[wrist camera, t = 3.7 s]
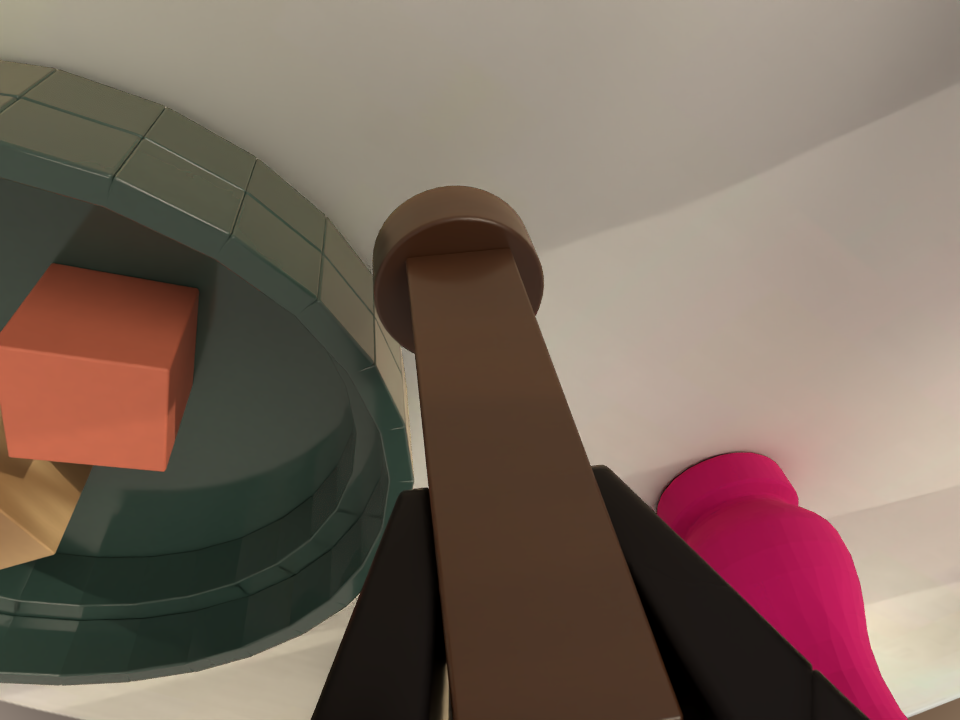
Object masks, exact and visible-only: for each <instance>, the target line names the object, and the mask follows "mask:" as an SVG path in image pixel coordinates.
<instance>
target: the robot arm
mask: <svg viewBox="0 0 960 720" xmlns="http://www.w3.org/2000/svg"><path fill="white" fill-rule="evenodd" d="M591 468H592V471H593V473H594V476H595V479H596V482H597V484H598V487H599V490H600V492H601V495H602V498H603V500H604V503H605V506H606V509H607V511H608V514H609V517H610V519H611V522H612V525H613V527H614V530H615V533H616V536H617V538H618V541H619V544H620V546H621V549H622V552H623V554H624V557H625V560H626V563H627V565H628V568H629V571H630V573H631V576H632V579H633V581H634V584H635V587H636V590H637V592H638V595H639V598H640V600H641V603H642V606H643V608H644V611H645V614H646V617H647V619H648V622H649V625H650V627H651V630H652V633H653V635H654V638H655V641H656V644H657V646H658V649H659V652H660V654H661V657H662V660H663V662H664V665H665V668H666V670H667V673H668V676H669V679H670V681H671V684H672V687H673V689H674V692H675V695H676V697H677V700H678V703H679V706H680V708H681V711H682V714H683V720H870V719H869V718H868V717H867V716H866V715H865V714H864V713H863V712H862V711H861V710H860V709H858V708H857V707H856V706H855V705H854V704H853V703H852V702H851V701H850V700H849V699H848V698H847V697H845V696H844V695H843V694H842V693H841V692H840V691H839V690H838V689H837V688H836V687H835V686H834V685H833V684H832V683H831V682H830V681H829V680H828V679H827V678H826V677H825V676H824V675H823V674H822V673H821V672H820V671H819V670H813V667H812V664H811V663H810V662H809V661H808V660H807V659H806V658H805V657H804V656H803V655H802V654H801V653H800V652H799V651H798V650H797V649H796V648H795V647H794V646H793V645H792V644H790V643H789V642H788V641H787V640H786V639H785V638H784V637H783V636H782V635H781V634H780V633H779V632H778V631H777V630H776V629H775V628H774V627H773V626H772V625H771V624H770V623H769V622H768V621H767V620H766V619H765V618H764V617H763V616H762V615H760V614H759V613H758V612H757V611H756V610H755V609H754V608H753V607H752V606H751V605H750V604H749V603H748V602H747V601H746V600H745V599H744V598H743V597H742V596H741V595H740V594H739V593H738V592H737V591H736V590H735V589H734V588H733V587H732V586H731V585H729V584H728V583H727V582H726V581H725V580H724V579H723V578H722V577H721V576H720V575H719V574H718V573H717V572H716V571H715V570H714V569H713V568H712V567H711V566H710V565H709V564H708V563H707V562H706V561H705V560H704V559H703V558H702V557H701V556H699V555H698V554H697V553H696V552H695V551H694V550H693V549H692V548H691V547H690V546H689V545H688V544H687V543H686V542H685V541H684V540H683V539H682V538H681V537H680V536H679V535H678V534H677V533H676V532H675V531H674V530H673V529H672V528H671V527H670V526H668V525H667V524H666V523H665V522H664V521H663V520H662V519H661V518H660V517H659V516H658V515H657V514H656V513H655V512H654V511H653V510H652V509H651V508H650V507H649V506H648V505H647V504H646V503H645V502H644V501H643V500H642V499H641V498H640V497H638V496H637V495H636V494H635V493H634V492H633V491H632V490H631V489H630V488H629V487H628V486H627V485H626V484H625V483H624V482H623V481H622V480H621V479H620V478H619V477H618V476H617V475H616V474H615V473H614V472H613V471H612V470H611V469H609V468H608V467H607V466H604V465H594V466H591ZM311 720H452V710H451V700H450V690H449V681H448V671H447V661H446V651H445V642H444V632H443V622H442V613H441V603H440V593H439V583H438V574H437V564H436V554H435V544H434V535H433V525H432V515H431V506H430V496H429V489H428V488H419V489H411V490H404V491H402V492H401V493H400V494H399V496H398V498H397V500H396V503H395V505H394V508H393V510H392V513H391V516H390V518H389V521H388V523H387V526H386V528H385V531H384V533H383V536H382V539H381V541H380V544H379V546H378V549H377V551H376V554H375V557H374V559H373V562H372V564H371V567H370V569H369V572H368V574H367V577H366V580H365V582H364V585H363V587H362V590H361V592H360V595H359V598H358V600H357V603H356V605H355V608H354V610H353V613H352V615H351V618H350V621H349V623H348V626H347V628H346V631H345V633H344V636H343V639H342V641H341V644H340V646H339V649H338V651H337V654H336V656H335V659H334V662H333V664H332V667H331V669H330V672H329V674H328V677H327V679H326V682H325V685H324V687H323V690H322V692H321V695H320V697H319V700H318V703H317V705H316V708H315V710H314V713H313V715H312V718H311Z"/></svg>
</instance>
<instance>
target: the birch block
mask: <svg viewBox="0 0 960 720" xmlns="http://www.w3.org/2000/svg"><path fill="white" fill-rule="evenodd" d="M92 467H93V465H86V464H76V463H65V462H54V461H44V460H33V459H22V458H12V457H9V456H8V450H7V444H6V437H5V431H4V425H3V419H2V413H1V407H0V570H1V569H4V568H8V567H11V566H15V565H19V564H22V563H26V562H29V561H33V560H36V559H40V558H44V557H47V556H51V555H54V554H55V553H56V550H57V548H58V546H59V544H60V541H61V539H62V537H63V534H64V532H65V530H66V527H67V525H68V523H69V520H70V518H71V516H72V514H73V511H74V509H75V507H76V504H77V502H78V500H79V497H80V495H81V493H82V490H83V488H84V486H85V484H86V481H87V479H88V477H89V474H90V472H91V470H92Z"/></svg>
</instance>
